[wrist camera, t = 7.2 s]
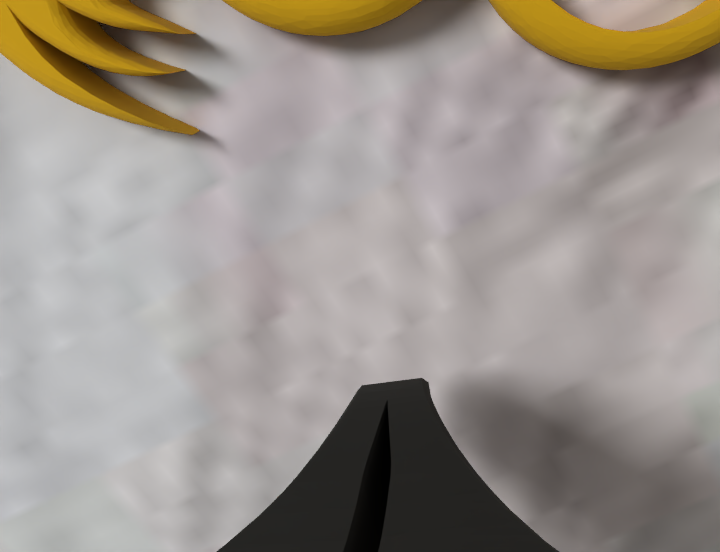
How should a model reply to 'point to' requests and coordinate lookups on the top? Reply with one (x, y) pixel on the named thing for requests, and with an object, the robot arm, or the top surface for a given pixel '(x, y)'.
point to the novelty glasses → (308, 17)
